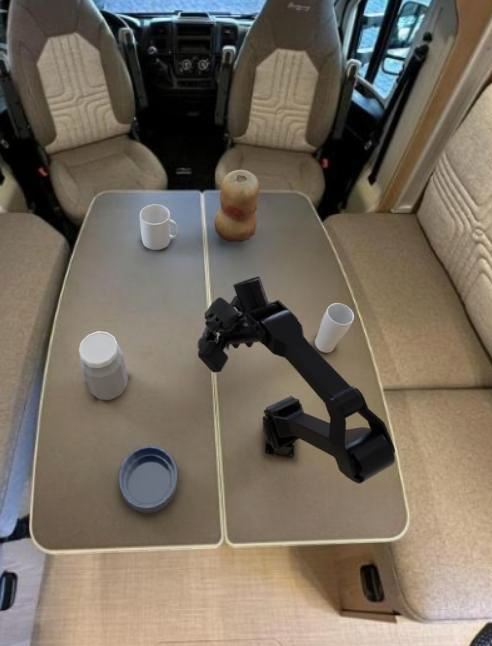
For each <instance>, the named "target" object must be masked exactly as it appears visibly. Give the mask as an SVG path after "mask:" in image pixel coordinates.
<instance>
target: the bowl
mask: <svg viewBox="0 0 492 646" xmlns="http://www.w3.org/2000/svg"><path fill="white" fill-rule="evenodd" d="M118 486H119V489H120V492H121V494H122V496H123V499H124V501H125V502H126V503H127V504H128V506H129V507H130V508H131V509H133V510H134V511H136V512H138V513H143V514H152V513H157V512H159V511H161V510H163V509H164V508H166V507H167V506H168V505H169V504H170V503H171V501H173V499H174V497H175V494H176V492H177V489H178V469H177V465H176V462H175V460H174V458H173V456H172V455H171V454H170V453H169V452H168V451H167V450H166V449H163V448H162V447H160V446H156V445H144V446H140V447H138V448H136V449H134V450H132V451H131V452H130V453H129V454H128V455H126V457H125V458H124V459H123V462H122V463H121V465H120V470H119V474H118Z"/></svg>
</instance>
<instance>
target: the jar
mask: <svg viewBox="0 0 492 646" xmlns="http://www.w3.org/2000/svg"><path fill="white" fill-rule="evenodd" d="M78 353H79V356H80V358H79V364H80V367H81V370H82V372H83V376H84V378H85V381H86V383H87V386H88V389H89V391H90V394H91V395H93V396H94V397H95V398H97V399H98V400H106V401H110V400H113V399H115V398H117V397H120V396H121V394H122V393H123V392H124V391H125V390H126V389H127V384H128V380H129V378H128V372H127V368H126V363H125V357H124V354H123V351H122V349H121V347H120V345H118V342H117V340H116V337H115V336H113V335H112V334H111V333H110V332H107V331H95V332H93V333H89V334H87V335H86V336H85V337H84V338H83V339H82V340H81V341H80V344H79V348H78Z"/></svg>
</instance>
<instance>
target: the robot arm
mask: <svg viewBox="0 0 492 646" xmlns="http://www.w3.org/2000/svg"><path fill="white" fill-rule="evenodd" d="M232 286H233V289H234V292H235V296H233V298H232V299H231V301H230V302H228V301H227V300H225V298H223V297H221V296H219V297H217V298H216V299H215V300H214V301H213V302H211V304H210V306H209V307H208V308H207V309H206V311H205V312H204V319H205V322H204V324H205V326H206V325H207V326H208V327H209V328H210V329H212V330H213V331H216V333H217V334H218V335H217V338H216V337H215V336H214V334H213V333H212V332H210V334H209V335H208V337H206V338H202V339H200V340H199V339H198V340H199V341H200V342H201V343H202V344H203V346H202V347H201V349H200V350H199V349H198V350H199V352H198V351H197V357H198V358H199V359H200V360H201V361H202V362H203V363H204V364H205V366H206V367H207V368H208V369H209V370H210V372H212V373H221V372H222V371H223V369H224V367H225V366H226V364H227V362H228V360H229V356H228V353H230V350H231V349H230V346H232V348H233V349H239V347H240V345H241V344H242V345H243V344H244V345H245V346H246V347H247V348H252V346H253V345H254V343H260V344H261V345H263V346H264V347H265V348H266V349H267V350H268V351H270V352H271V353H272V355H275V356H278V357H280V358H284V359H286V360H287V361H288V362H289V363H290V365H291V366H292V367H293V369H294V370H295V371H296V372H297V373H298V374H299V375H300V376H301V377H302V379H303V380H304V381H305V382H306V383H307V385H308V386H309V387H310V388H311V389H312V390H313V392H314V393H315V394H316V395H317V397H319V399H320V400H321V401H322V402H323V404H324V405H325V409H326V412H327V413H328V417H329V422H328V421H326V420H323V419H321V418H318V417H316V416H313V415H311V414H309V413H306V412H305V410H304V408H303V404H302V403H301V402H300V399H299V398H295V397H294V396H293V395H290V396H288V397H286V398H283V399H281V400H279V401H276V402H275V403H273V404H271V405H268V406H266V407H265V409H264V410H263V413H264V415H263V417H262V430H263V433H264V435H265V443H264V444H265V446H264V447H265V448H264V453H265V454H267V455H270V456H278V457H285V458H291V459H292V458H294V457H295V443H296V441H298V440H301V441H303V442H305V443H307V444H309V445H311V446H313V447H314V448H316V449H317V450H320V451H322V452H323V453H326V454H328V456H331V457H333V458H334V460H335V462H336V465H337V468H338V471H339V472H340V473H341V474H343V475H344V477H346V478H347V479H349V480H350V481H352V482H354V483H356V484H359V485H361V484H362V483H364V482H366V481H367V480H369V479H371V478H373V477H374V476H376V475H378V474H379V473H381V472H383V471H385V470H386V469H388V468H390V467H392V466H393V465H394V464H395V462H396V461H395V460H396V457H395V453H396V449H395V445H394V443H393V441H392V438H391V435H390V433H389V430H388V428H387V425H386V423H385V421H383V419H381V417H379V416H378V415H377V414H376V413H374V412H373V411H372V410H371V409H369V407H368V404H367V401H366V399H365V396H364V395H363V393H362V391H360V389H359V388H357V387H356V386H353V385H350V383H348V382H347V381H346V379H345V378H344V377H343V376H342V375H341V374H340V373H339V372H338V371H337V370H336V369H335V368H334V367H333V366H332V365H331V364H330V363H329V362H328V361H327V360H326V359H325V357H324V356H323V355H322V354H320V352H319V351H318V350H317V348H315V347H313V345H312V344H311V343H310V342H309V341H308V339H306V337H305V333H304V326H303V324H301V322H300V321H299V319H298V317H297V316H296V315H295V314H294V313H293V312H292V311H291V310H290V309H289V308H288V307H287V306H286V305H285V304H284V303H283V302H282V301H280V299H276V300H274V301H269V300H268V298H267V297H268V296H267V294H266V291H265V288H264V285H263V282H262V279H261V277H260V276H259V275H258V276H254V277H251V278H248V279H244V280H241V281H239V282H236V283H234V284H233V285H232ZM355 414H358V415H360V416H361V417H362V418H363V419H364V420H366V421H367V423H368V426H369V427H366V426H365V427H364V426H361V427H354V428H348V429H347V418H349V417H351V416H353V415H355Z"/></svg>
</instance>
